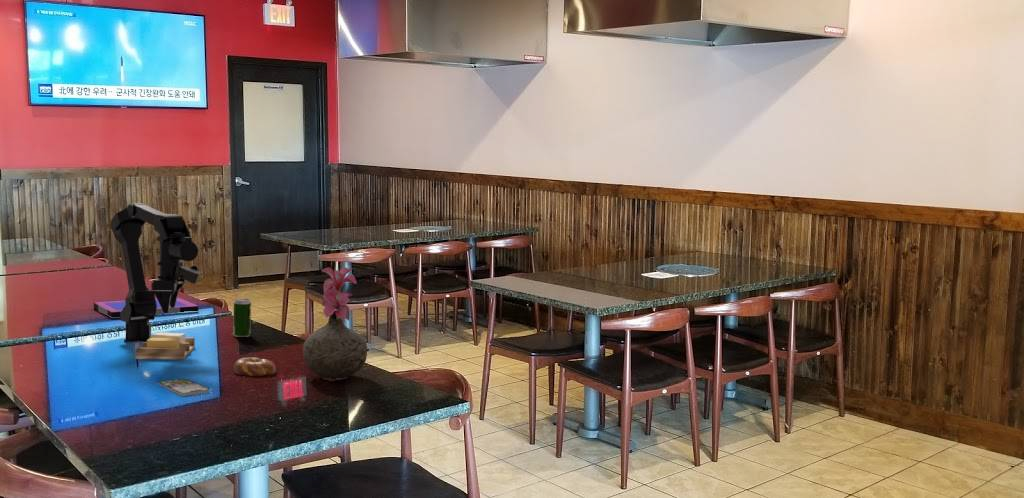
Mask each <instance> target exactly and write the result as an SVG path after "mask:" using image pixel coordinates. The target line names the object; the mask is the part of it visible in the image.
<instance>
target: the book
mask: <svg viewBox="0 0 1024 498" xmlns="http://www.w3.org/2000/svg"><path fill="white" fill-rule="evenodd" d="M155 300H156V302H157V303H156V304H157V309H156V314H157V313H164V312H163V310H162V308H161V306H160V304H159V302H158V299H157V298H155ZM125 305H126V303H125V300H115V301H113V300H112V301H99V302H98V301H97V302H93V310H94V309H96V310H98V311H100V312H103V313H105V314H107V315H109V316H111V317H120V313H121V311H122V310H123V308H124V306H125ZM96 310H95V311H96ZM98 311H97V312H98ZM184 311H198V312H199V305H197V304H195V303H192V302H190V301H187V300H185V299H183V298H180V297H179V296H178V297H177V300H176V304H175V307H174V308H171V307H170V305H169V310H168V313H172V312H184ZM100 312H99V313H100Z"/></svg>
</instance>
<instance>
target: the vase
mask: <svg viewBox="0 0 1024 498" xmlns="http://www.w3.org/2000/svg"><path fill="white" fill-rule="evenodd" d="M352 270H353V267H350V268H348V267H347V266H346V267H345V266H342V267H341V268H340V269H339V270H337V269H335V270H333V269H332V267H331V266H330V267H325V268H324V269H322V270H321V272H323V273H325V274H327V275H329V276H330V278H327V279H325V281H324V283H323V296H322V298H323V300H322V304H321V306H323V307H324V308H323V309H322V312H323V314H324V316H325V317H326V318H328V321H327V323H326V324H325V325H324V326H321V327H320V328H318V329H316V330H315V331H313V332H311V334H309V336H308V337H306V339H305V341H304V342H303V345H302V356H303V357H302V358H303V361H304V364H305V366H306V368H307V369H308V370H309V371H311V372H312V373H314V374H315V375H318V376H320V378H321V377H323V378H331V379H336V378H345V377H347V378H349V377H350V376H352V375H355V374H356V373H357V372H359V371H360V370H361V369H362V368H363V367H364V365H365V364H366V362H367V357H368V346H367V345H368V344H367V342H366V341H365V339H364V338H363V337H362V336H361V334H359V333H358V332H356V331H355V330H353V329H351V328H349V327H348V326H346V325H345V324H344V323H346V322H345V320H347V321H348V322H350V317H351V316H350V307H349V306H348V303H349V302H350V300H351V299H350V298H349V297H351V296H353V294H352V293H350V292H346V291H342V292H341V290H342V287H343V286H344V284H345V283H352V284H356V285H357V280H356V277H355V276H354V274H352V273H350V272H351V271H352Z"/></svg>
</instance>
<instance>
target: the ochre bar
mask: <svg viewBox="0 0 1024 498" xmlns="http://www.w3.org/2000/svg"><path fill="white" fill-rule="evenodd" d="M146 342H147V348H180V338H150V339H148V340H147V341H146Z"/></svg>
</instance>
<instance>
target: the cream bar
mask: <svg viewBox="0 0 1024 498" xmlns="http://www.w3.org/2000/svg"><path fill="white" fill-rule="evenodd" d="M152 337H153V338H180V343H185V337H186V333H181V332H167V331H166V332H162V331H158V332H156V333H154V334H153V333H152Z"/></svg>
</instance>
